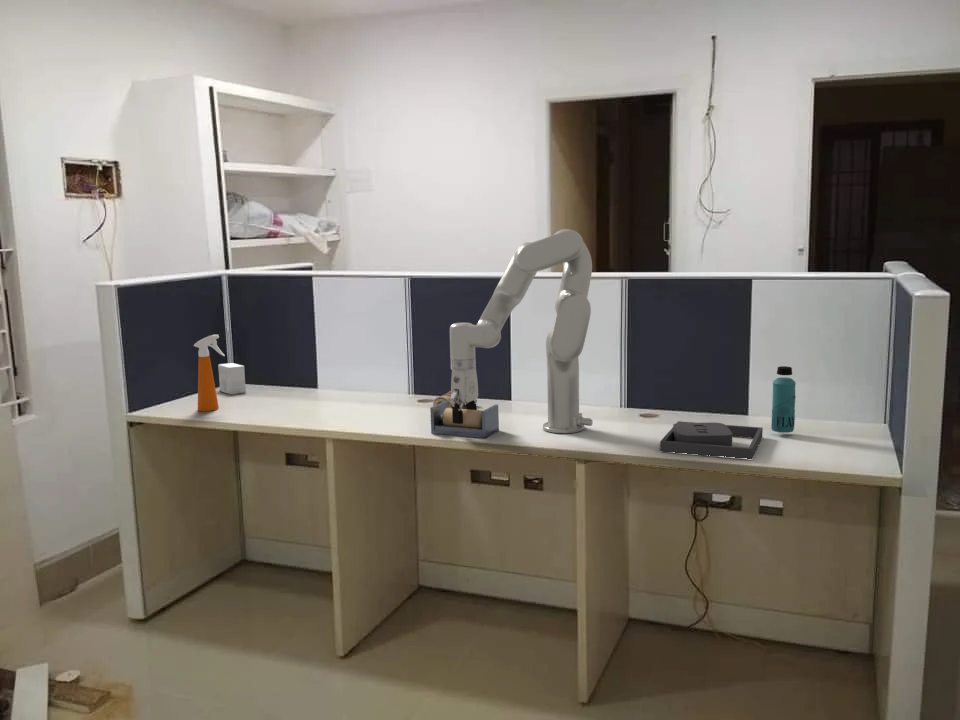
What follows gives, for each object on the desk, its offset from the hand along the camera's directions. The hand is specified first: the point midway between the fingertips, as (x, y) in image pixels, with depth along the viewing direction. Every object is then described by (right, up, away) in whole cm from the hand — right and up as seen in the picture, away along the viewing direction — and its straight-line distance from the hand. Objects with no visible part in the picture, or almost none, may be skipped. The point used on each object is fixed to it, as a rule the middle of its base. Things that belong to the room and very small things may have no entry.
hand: (464, 419), depth 261 cm
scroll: (-4, +1, +29) cm, 30 cm away
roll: (0, -3, +1) cm, 3 cm away
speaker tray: (+69, -6, -21) cm, 73 cm away
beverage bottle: (+92, -4, -12) cm, 93 cm away
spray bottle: (-89, +1, +41) cm, 98 cm away
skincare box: (-91, +6, +71) cm, 116 cm away
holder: (0, -4, +1) cm, 4 cm away
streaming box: (+66, -6, -21) cm, 70 cm away
